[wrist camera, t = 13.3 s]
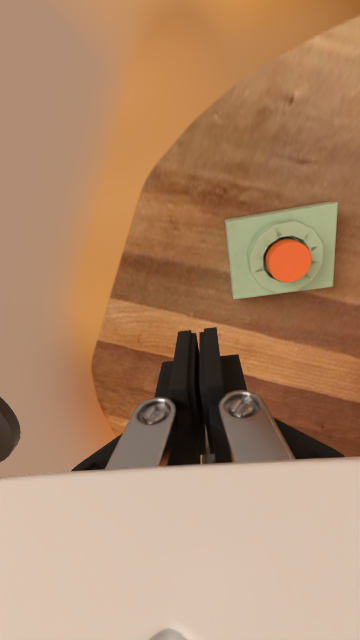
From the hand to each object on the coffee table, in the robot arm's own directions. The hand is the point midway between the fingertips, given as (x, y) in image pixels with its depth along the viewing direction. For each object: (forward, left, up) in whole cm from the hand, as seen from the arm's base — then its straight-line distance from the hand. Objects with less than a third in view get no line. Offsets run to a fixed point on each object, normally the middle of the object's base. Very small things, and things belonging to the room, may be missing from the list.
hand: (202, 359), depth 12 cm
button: (+8, 0, -16) cm, 18 cm away
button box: (+8, 0, -20) cm, 21 cm away
